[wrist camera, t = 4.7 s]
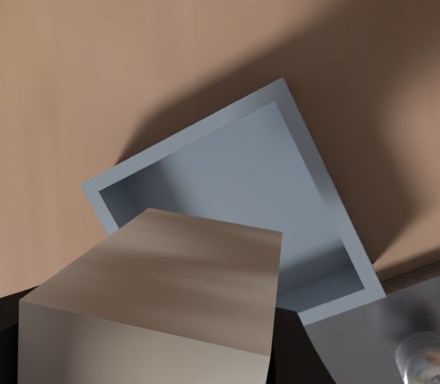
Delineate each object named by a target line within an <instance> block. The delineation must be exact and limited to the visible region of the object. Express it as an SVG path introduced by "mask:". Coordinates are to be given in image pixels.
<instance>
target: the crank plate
mask: <svg viewBox="0 0 440 384" xmlns="http://www.w3.org/2000/svg"><path fill="white" fill-rule="evenodd" d="M381 285H382V288H383V290H384V292H385V295H386V297H385V298H382V299H379V300H376V301H373V302H370V303H368V304H365V305H362V306H359V307H356V308H353V309H350V310H348V311H345V312H342V313H339V314H336V315H333V316H331V317H328V318H325V319H322V320H319V321H316V322H314V323H311V324H308V325H305V326H304V328H305V330H306V332H307V334H308V336H309V338H310V340H311V342H312V344H313V345H314V347H315V349H316V351H317V353H318V354H319V356H320V358H321V359H322V361H323V363H324V365H325V366H326V368H327V370H328V371H329V373H330V374H331V376H332V378H333V379H334V381H335V382H336V384H404V383H403V380H402V377H401V375H400V372H399V369H398V366H397V364H396V359H395V355H396V350H397V347H398V346H399V344H400V343H401V341H402V340H403V339H404V338H406V337H407V336H409V335H411V334H413V333H416V332H421V331H433V332H437V333H440V261H438V262H436V263H433V264H430V265H427V266H425V267H422V268H419V269H416V270H414V271H411V272H408V273H405V274H403V275H400V276H397V277H394V278H392V279H389V280H386V281H383V282H381Z"/></svg>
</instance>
